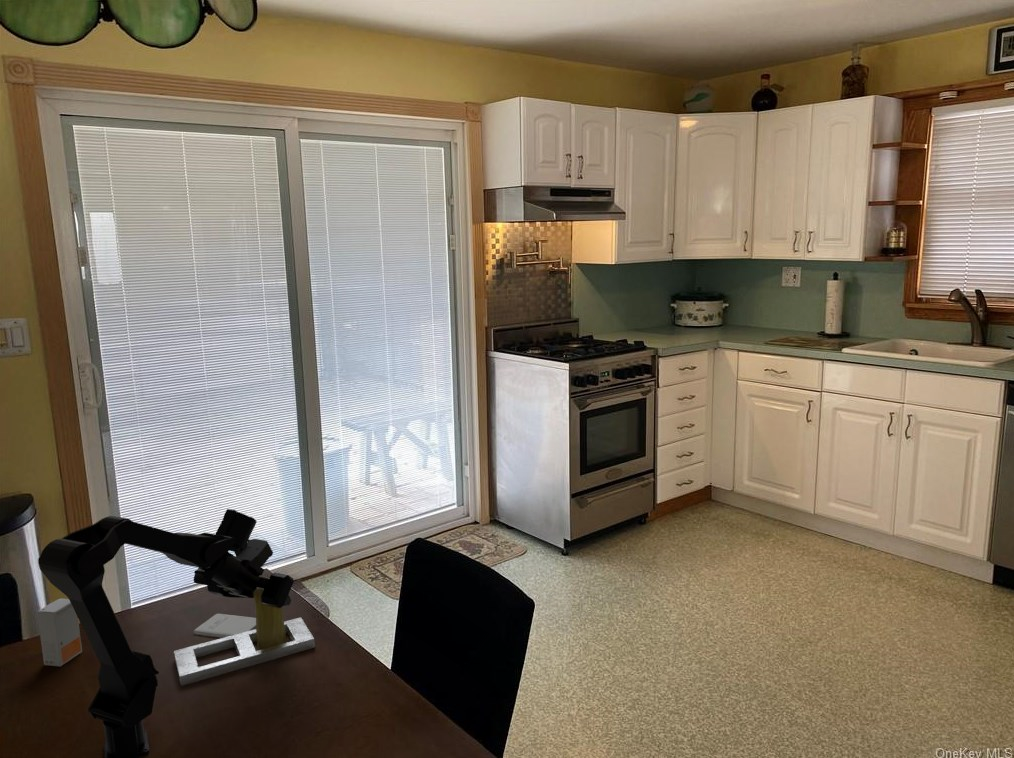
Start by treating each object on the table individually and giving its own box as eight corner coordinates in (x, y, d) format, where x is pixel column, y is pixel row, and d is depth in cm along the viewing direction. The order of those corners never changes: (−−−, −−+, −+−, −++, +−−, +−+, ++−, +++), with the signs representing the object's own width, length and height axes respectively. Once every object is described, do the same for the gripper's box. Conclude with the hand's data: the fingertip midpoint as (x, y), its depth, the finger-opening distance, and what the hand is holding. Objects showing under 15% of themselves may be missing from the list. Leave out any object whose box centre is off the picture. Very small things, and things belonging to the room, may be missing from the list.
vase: (252, 654, 153) (245, 589, 150) (264, 638, 159) (258, 576, 156) (280, 654, 152) (274, 589, 150) (291, 639, 158) (285, 576, 156)
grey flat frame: (314, 647, 154) (314, 638, 154) (180, 686, 142) (179, 676, 142) (301, 625, 164) (300, 617, 164) (174, 659, 151) (173, 650, 151)
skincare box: (61, 667, 150) (53, 612, 148) (43, 665, 151) (35, 611, 149) (83, 651, 156) (76, 598, 154) (66, 650, 157) (59, 597, 155)
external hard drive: (242, 643, 158) (194, 636, 162) (265, 624, 166) (218, 618, 170) (241, 636, 158) (193, 629, 162) (264, 618, 166) (217, 612, 169)
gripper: (283, 538, 144) (323, 569, 155) (212, 526, 151) (255, 557, 163) (258, 593, 138) (301, 621, 150) (185, 578, 146) (232, 605, 157)
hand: (272, 599), depth 155 cm, fingers open, 9 cm apart
